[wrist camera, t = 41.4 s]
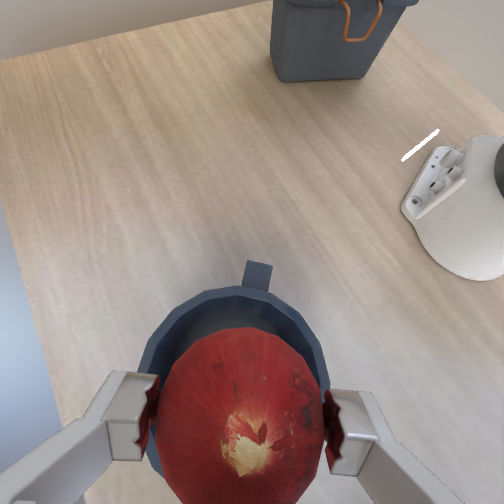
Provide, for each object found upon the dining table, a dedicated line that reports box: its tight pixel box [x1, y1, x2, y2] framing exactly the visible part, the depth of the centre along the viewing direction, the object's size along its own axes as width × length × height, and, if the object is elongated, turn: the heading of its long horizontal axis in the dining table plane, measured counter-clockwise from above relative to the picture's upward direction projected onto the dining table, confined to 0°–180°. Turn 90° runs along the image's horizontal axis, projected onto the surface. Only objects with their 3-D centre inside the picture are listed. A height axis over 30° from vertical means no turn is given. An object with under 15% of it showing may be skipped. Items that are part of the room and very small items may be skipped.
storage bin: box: [270, 0, 419, 82], centre depth 41 cm, size 21×16×14 cm
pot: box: [137, 260, 330, 479], centre depth 24 cm, size 14×20×10 cm
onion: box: [155, 327, 325, 504], centre depth 9 cm, size 6×6×8 cm
